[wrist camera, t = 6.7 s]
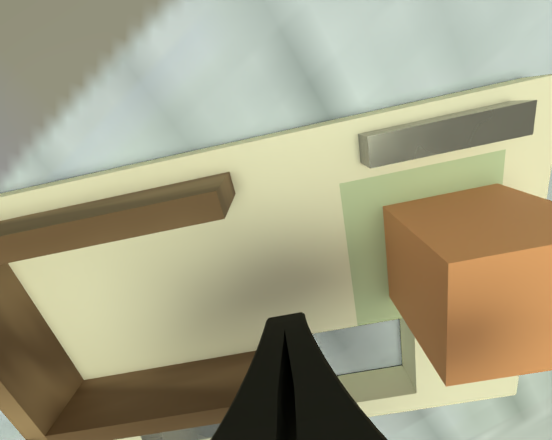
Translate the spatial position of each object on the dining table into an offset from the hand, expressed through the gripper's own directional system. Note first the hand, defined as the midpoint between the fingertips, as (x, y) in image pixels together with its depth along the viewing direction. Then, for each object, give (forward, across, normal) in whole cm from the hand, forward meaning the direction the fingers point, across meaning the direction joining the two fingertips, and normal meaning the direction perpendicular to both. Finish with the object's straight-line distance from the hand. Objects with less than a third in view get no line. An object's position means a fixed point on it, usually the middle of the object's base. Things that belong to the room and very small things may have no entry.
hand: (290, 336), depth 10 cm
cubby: (+4, +8, 0) cm, 9 cm away
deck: (+6, +1, +2) cm, 6 cm away
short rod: (+4, -7, -6) cm, 10 cm away
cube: (+4, -8, 0) cm, 8 cm away
